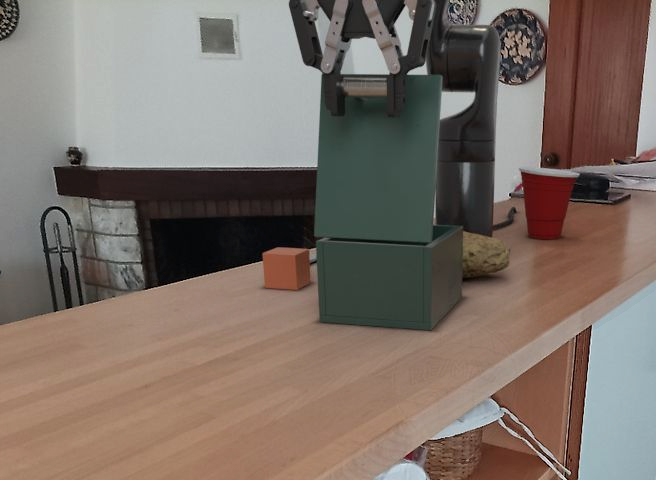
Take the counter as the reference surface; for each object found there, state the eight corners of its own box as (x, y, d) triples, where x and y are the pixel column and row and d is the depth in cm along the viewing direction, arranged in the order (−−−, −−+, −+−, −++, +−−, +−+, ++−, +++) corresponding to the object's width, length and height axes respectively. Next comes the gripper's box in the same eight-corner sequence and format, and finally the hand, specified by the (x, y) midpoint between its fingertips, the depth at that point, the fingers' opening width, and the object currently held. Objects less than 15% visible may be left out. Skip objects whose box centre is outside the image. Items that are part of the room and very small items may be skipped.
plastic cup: (579, 242, 137) (584, 171, 132) (517, 241, 137) (520, 170, 133) (571, 232, 147) (576, 166, 143) (514, 231, 147) (517, 165, 143)
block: (279, 280, 104) (277, 247, 103) (311, 282, 103) (309, 248, 102) (264, 288, 100) (262, 253, 99) (297, 290, 99) (295, 255, 98)
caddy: (365, 290, 100) (363, 221, 96) (462, 297, 97) (463, 225, 94) (319, 322, 85) (315, 241, 82) (430, 330, 83) (431, 247, 80)
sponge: (350, 286, 108) (474, 272, 97) (346, 228, 107) (470, 208, 96) (406, 286, 118) (523, 274, 108) (403, 234, 118) (520, 217, 107)
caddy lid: (324, 75, 80) (304, 59, 75) (442, 77, 78) (430, 60, 73) (316, 237, 82) (296, 232, 77) (432, 243, 80) (419, 238, 75)
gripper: (448, -82, 71) (446, 116, 77) (300, -77, 74) (311, 114, 80) (427, -100, 64) (427, 119, 71) (265, -94, 67) (280, 116, 73)
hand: (365, 115), depth 75 cm, fingers closed on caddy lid, 5 cm apart
